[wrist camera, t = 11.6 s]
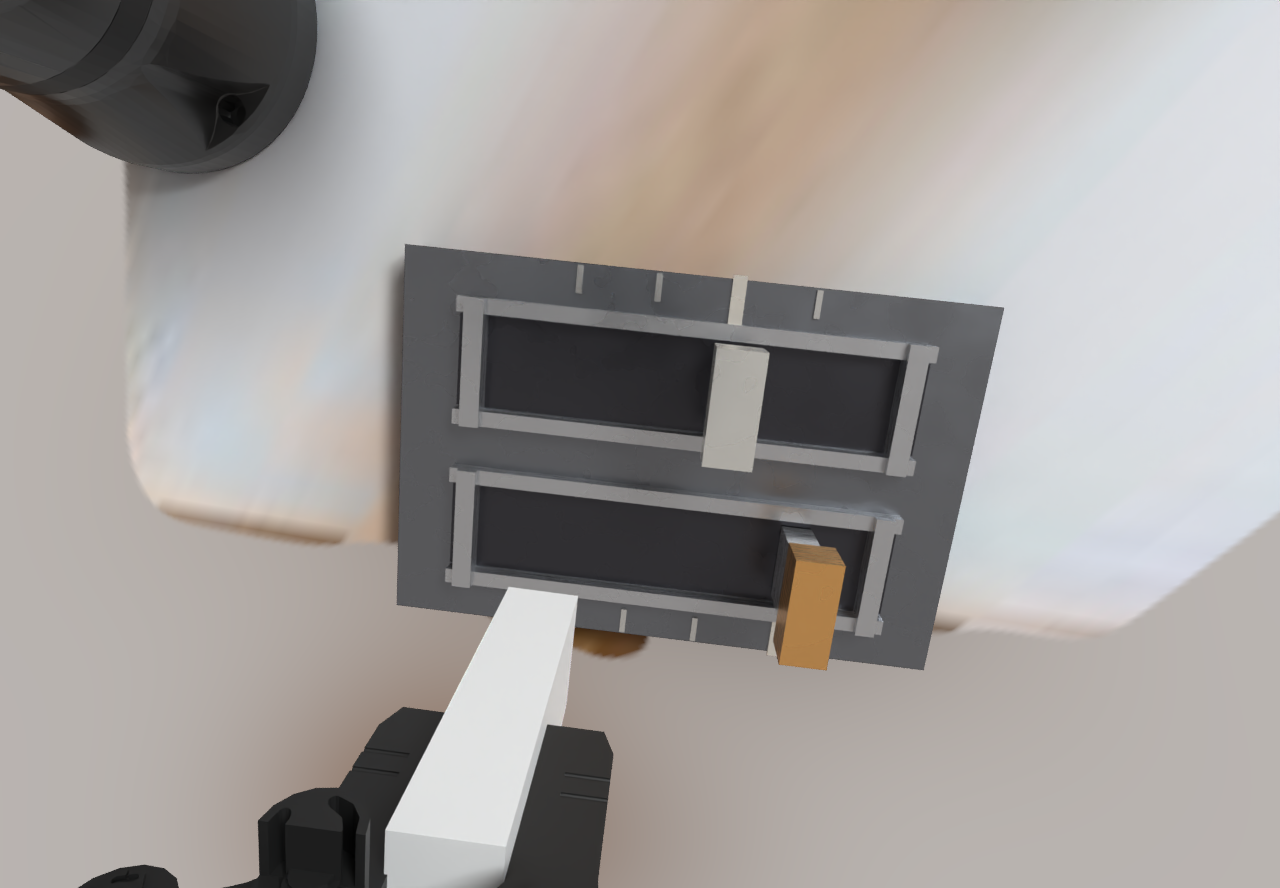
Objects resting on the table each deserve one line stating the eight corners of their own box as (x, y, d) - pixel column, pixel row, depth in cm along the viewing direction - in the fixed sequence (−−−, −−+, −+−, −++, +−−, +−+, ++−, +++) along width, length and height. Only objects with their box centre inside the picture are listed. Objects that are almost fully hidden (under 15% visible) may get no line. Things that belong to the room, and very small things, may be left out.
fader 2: (763, 603, 38) (779, 664, 32) (777, 514, 37) (796, 560, 31) (803, 608, 38) (826, 670, 32) (819, 519, 37) (845, 566, 31)
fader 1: (698, 435, 36) (701, 466, 30) (711, 335, 35) (716, 347, 29) (740, 440, 36) (752, 472, 30) (754, 340, 35) (769, 353, 29)
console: (409, 592, 42) (388, 617, 39) (419, 242, 37) (395, 238, 34) (911, 654, 41) (930, 685, 38) (987, 302, 36) (1016, 304, 33)
